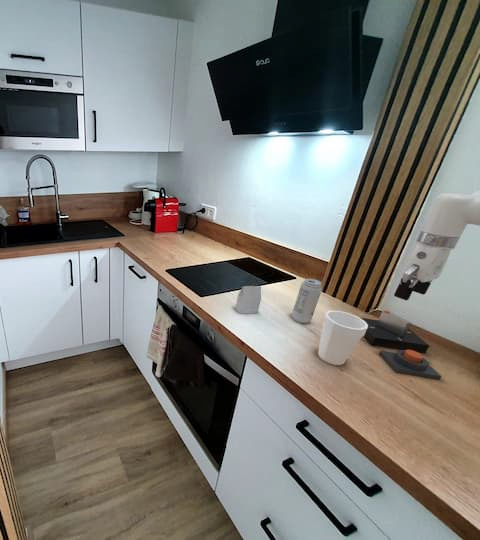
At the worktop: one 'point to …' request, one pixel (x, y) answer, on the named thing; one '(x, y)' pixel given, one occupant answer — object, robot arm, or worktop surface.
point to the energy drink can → (307, 300)
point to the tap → (393, 323)
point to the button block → (409, 365)
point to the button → (413, 356)
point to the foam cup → (340, 336)
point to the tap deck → (393, 338)
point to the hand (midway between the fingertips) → (409, 295)
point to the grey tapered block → (249, 299)
